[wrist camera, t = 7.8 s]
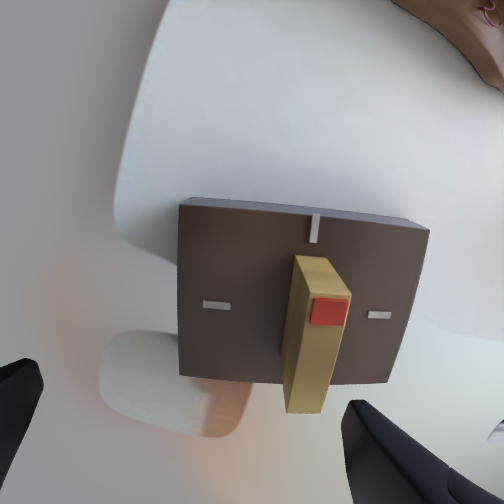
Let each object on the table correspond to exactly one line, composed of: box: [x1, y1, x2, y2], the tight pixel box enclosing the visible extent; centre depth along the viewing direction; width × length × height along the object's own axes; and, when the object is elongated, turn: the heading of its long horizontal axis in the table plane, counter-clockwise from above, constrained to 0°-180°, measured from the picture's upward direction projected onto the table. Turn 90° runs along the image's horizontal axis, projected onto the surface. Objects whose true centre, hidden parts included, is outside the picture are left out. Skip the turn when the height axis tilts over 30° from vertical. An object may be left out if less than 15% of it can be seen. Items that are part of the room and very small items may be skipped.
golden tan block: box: [280, 255, 352, 413], centre depth 14 cm, size 6×2×5 cm, turn 175°
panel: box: [177, 197, 430, 385], centre depth 18 cm, size 13×10×3 cm
